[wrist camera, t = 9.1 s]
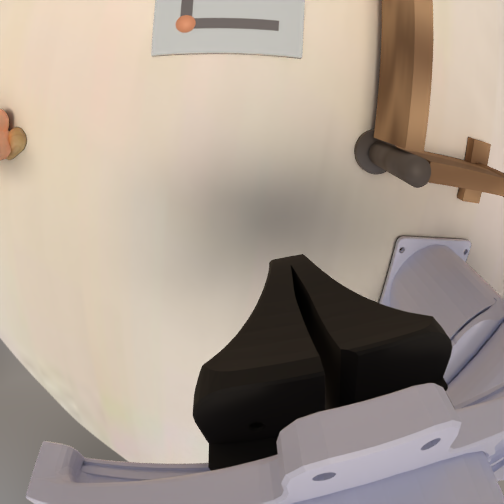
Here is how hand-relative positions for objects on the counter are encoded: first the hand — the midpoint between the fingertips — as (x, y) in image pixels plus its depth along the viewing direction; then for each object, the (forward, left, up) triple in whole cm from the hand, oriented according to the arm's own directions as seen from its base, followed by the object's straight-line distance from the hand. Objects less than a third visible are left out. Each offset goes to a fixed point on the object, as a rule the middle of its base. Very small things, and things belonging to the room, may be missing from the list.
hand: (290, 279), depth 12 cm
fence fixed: (+4, -11, -9) cm, 15 cm away
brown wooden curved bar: (+10, -7, -9) cm, 15 cm away
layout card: (+14, +3, -9) cm, 17 cm away
